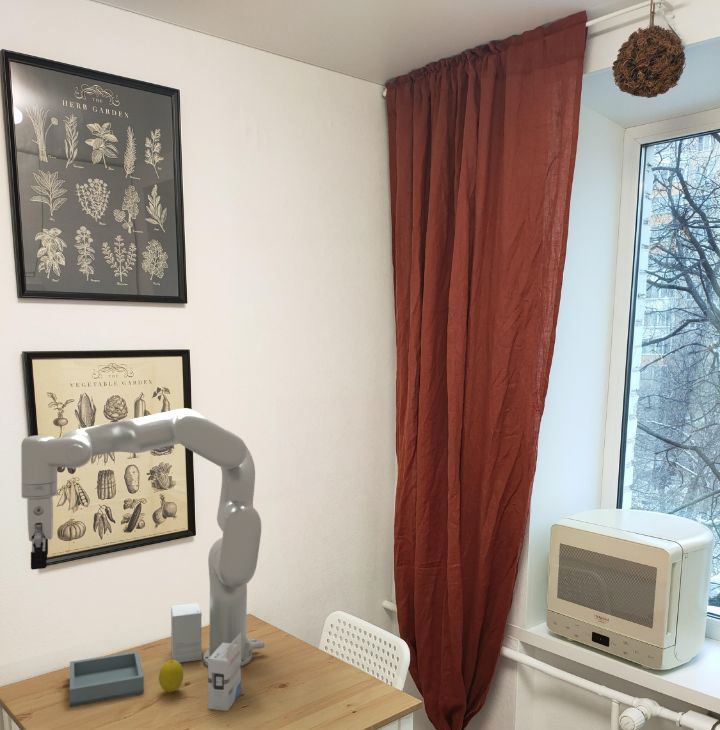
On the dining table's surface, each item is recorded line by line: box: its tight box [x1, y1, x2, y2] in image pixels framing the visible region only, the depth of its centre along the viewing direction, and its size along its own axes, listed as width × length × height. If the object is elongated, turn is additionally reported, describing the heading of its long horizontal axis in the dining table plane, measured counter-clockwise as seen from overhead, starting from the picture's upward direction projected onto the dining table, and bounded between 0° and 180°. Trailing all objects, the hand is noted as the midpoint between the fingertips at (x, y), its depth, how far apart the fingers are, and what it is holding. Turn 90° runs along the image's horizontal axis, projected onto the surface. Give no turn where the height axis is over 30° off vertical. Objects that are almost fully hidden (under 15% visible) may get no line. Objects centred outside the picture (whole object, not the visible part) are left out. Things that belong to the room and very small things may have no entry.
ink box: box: [207, 633, 242, 712], centre depth 156 cm, size 9×5×15 cm, turn 168°
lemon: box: [158, 658, 184, 694], centre depth 159 cm, size 6×6×8 cm
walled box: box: [69, 650, 145, 708], centre depth 162 cm, size 16×14×4 cm
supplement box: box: [170, 602, 203, 664], centre depth 178 cm, size 7×7×13 cm
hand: (39, 561), depth 158 cm, fingers open, 9 cm apart
